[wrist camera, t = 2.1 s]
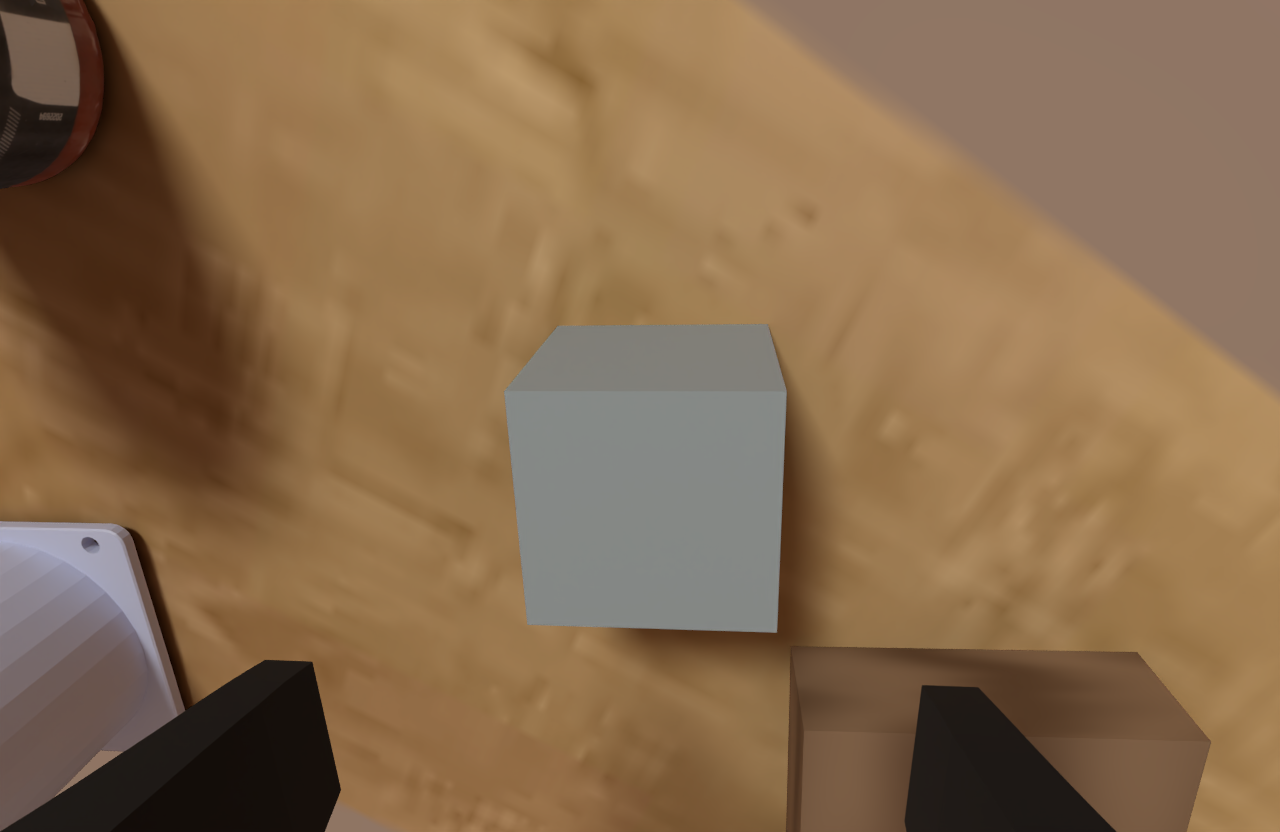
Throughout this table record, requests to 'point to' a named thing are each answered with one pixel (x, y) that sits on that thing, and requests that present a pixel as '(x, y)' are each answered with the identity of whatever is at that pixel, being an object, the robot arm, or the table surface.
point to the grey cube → (650, 477)
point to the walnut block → (1025, 693)
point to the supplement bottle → (46, 87)
